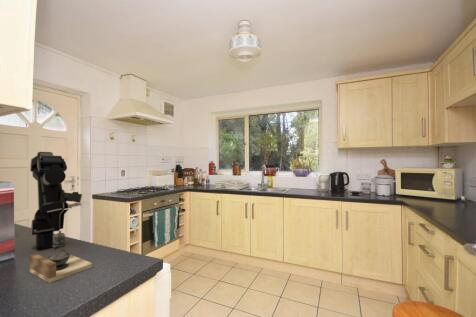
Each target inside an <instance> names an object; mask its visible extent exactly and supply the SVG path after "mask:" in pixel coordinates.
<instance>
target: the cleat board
mask: <svg viewBox="0 0 476 317" xmlns="http://www.w3.org/2000/svg"><path fill="white" fill-rule="evenodd" d="M66 263H67V264H69V266H68V267H67V268H65V269H63V270H59V271H56V263H55V262H53V261H51V260H49V259H48V258H46V257H44V256H43V255H41V254H38V253H33V254H30V255H29V270H28V272H29V273H31V274H32V275H35V276H36V277H38V278H40V279H42V280H43V281H45V282H47V283H49V284H51V283H53V282H56V281H59V280H62V279H64V278H67V277H69V276H72V275H75V274H77V273H80V272H82V271H85V270H88V269H90V268H93V264H94V263H93V262H91V261H87V260H86V259H82V258H81V257H78V256H75V255H73V254H70V256H69V259H68V261H67V262H66Z"/></svg>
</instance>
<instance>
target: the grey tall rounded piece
mask: <svg viewBox="0 0 476 317" xmlns="http://www.w3.org/2000/svg"><path fill="white" fill-rule="evenodd" d="M53 243H54V245H53V247H52V248H53V252H52V255H50V256H48V257H47V259H49V260H51V261H53V262H55V263H56V271H59V270H63V269H65V268H67V267H68V266H69V264H67V263H66V262H67V261H68V259H69V256H70V255H71V253H70V252H66V245H67V242H66V234H65V233H64V232H62V231H61V229H60V230H59V231H58V233H56V234H55V235H54V237H53Z"/></svg>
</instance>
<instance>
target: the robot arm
mask: <svg viewBox="0 0 476 317" xmlns="http://www.w3.org/2000/svg"><path fill="white" fill-rule="evenodd" d="M29 167H30V168H29V171H30V172H32V175H31V176H32V177H33V178H34V179H35V180H36V182H37V183H36V184H37V204H38V209H37V210H36V212H35V213H34V217H33V219H32V220H31V226H30V233H31V236H35V241H34V242H35V243H34V244H35V245H32V246H31V248H32V249H34V250H36V251H42V250H47V249H49V248H54V247H53V245H54V236H55V235H54V232H59V230H60V231H61V230H62V229H64V223H65V215H66V213H67V212H68V211H69V208H70V206H69V203H68V202H74V203H81V200H82V197H83V194H81V193H79V191H73V192H65V190H64V189H63V185H62V184H63V182H64V181H65V179H66V176H67V175H66V173H65V172H66V170H67V169H68V166H67V163H66V160H65V159H64V158H63V157H62V156H61V155H54V154H53V152H50V151H38V152H37V154H36V156H34V157H33V158H31V159H30V166H29Z"/></svg>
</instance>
